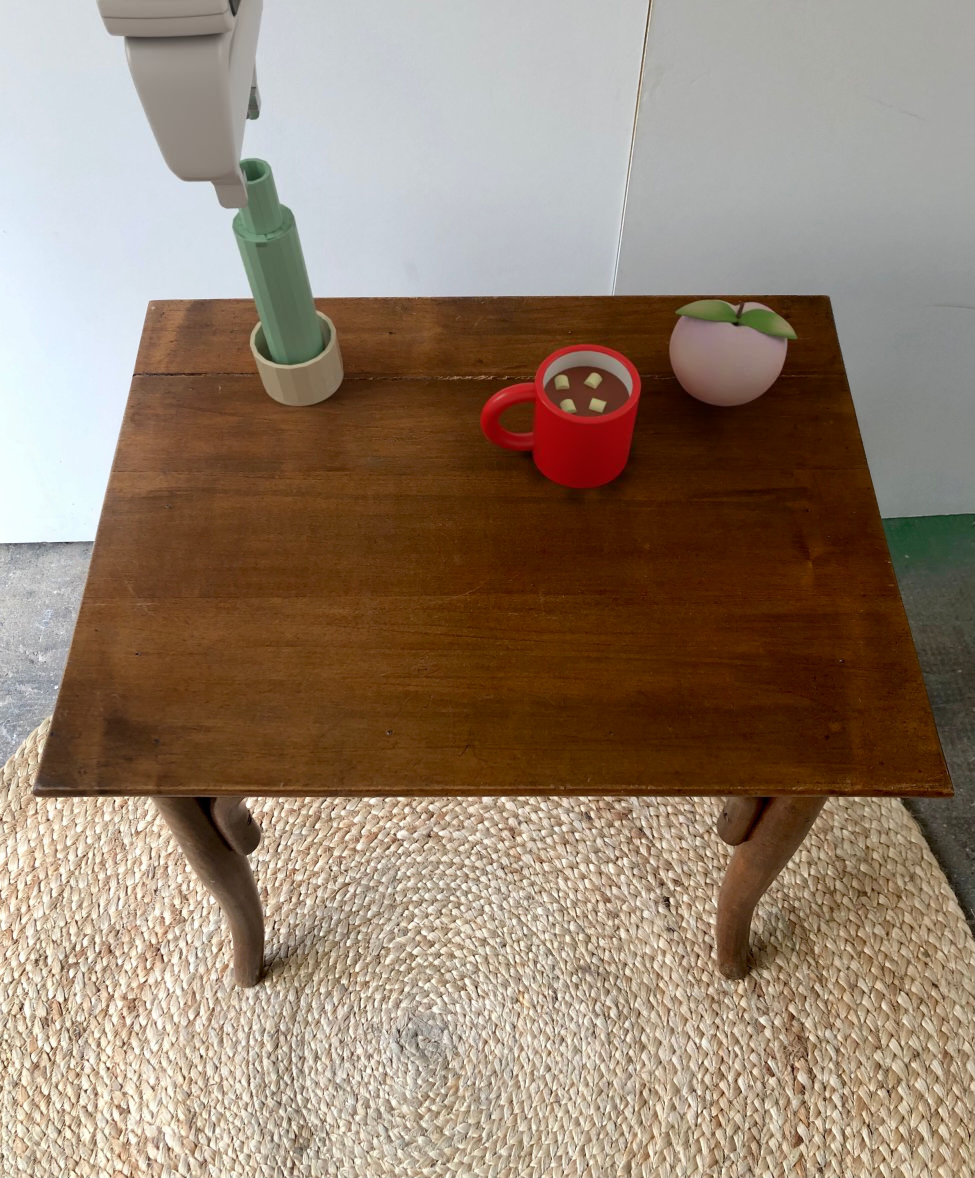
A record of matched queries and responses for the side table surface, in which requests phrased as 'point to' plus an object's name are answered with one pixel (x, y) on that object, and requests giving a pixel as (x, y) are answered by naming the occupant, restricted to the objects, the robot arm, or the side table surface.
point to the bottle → (276, 269)
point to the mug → (573, 415)
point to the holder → (300, 369)
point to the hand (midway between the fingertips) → (242, 155)
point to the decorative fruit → (728, 350)
